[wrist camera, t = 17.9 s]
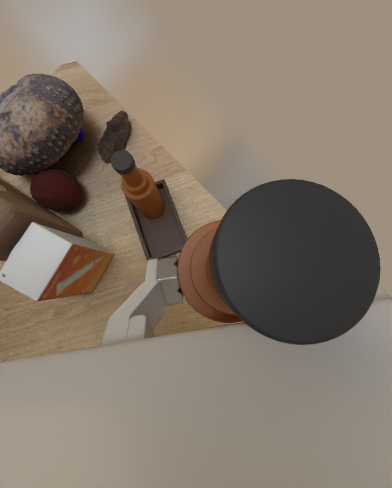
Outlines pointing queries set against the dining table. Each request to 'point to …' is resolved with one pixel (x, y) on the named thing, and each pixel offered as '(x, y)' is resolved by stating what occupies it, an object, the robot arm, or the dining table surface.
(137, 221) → the tray
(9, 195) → the decorative block
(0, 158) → the sea urchin shell
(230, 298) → the loose bottle
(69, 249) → the small box
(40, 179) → the potato
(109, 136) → the stone
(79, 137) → the die
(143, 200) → the tray bottle
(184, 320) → the dining table surface
